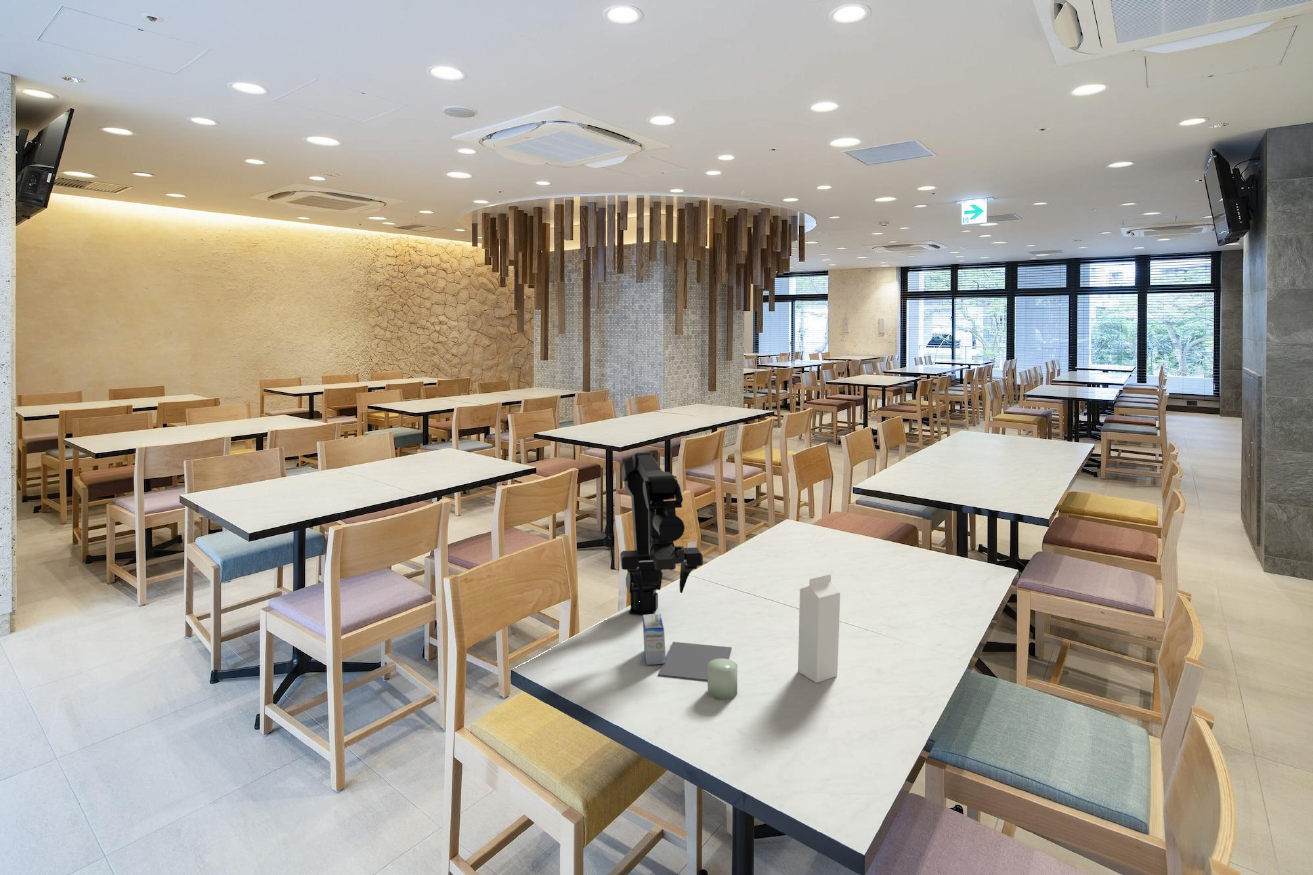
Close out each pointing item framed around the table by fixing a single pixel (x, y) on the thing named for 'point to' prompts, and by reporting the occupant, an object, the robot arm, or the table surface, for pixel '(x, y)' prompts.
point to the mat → (691, 660)
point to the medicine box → (654, 639)
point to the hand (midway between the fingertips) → (661, 593)
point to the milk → (819, 629)
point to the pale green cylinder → (722, 679)
